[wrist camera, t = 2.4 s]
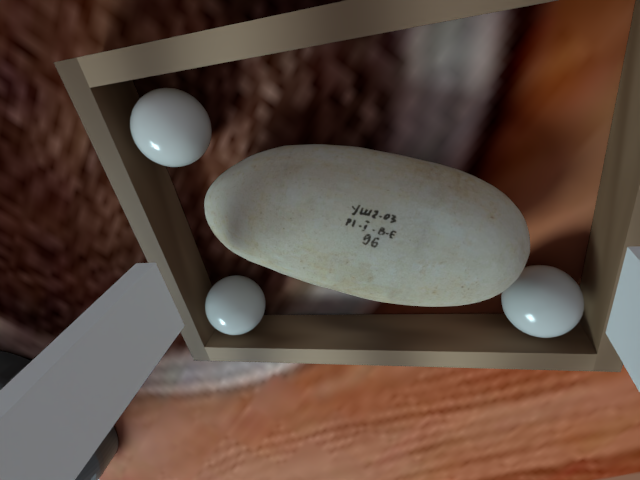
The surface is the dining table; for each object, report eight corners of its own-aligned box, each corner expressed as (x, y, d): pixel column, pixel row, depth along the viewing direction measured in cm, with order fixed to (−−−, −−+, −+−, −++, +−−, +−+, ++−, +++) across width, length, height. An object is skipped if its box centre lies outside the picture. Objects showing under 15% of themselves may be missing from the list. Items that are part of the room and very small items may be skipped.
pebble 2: (493, 305, 18) (507, 352, 16) (496, 253, 17) (512, 296, 14) (563, 304, 18) (590, 354, 15) (573, 249, 16) (604, 294, 14)
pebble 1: (172, 156, 18) (133, 181, 15) (146, 87, 16) (98, 102, 14) (231, 149, 17) (201, 174, 14) (210, 76, 15) (172, 90, 13)
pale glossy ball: (228, 308, 22) (206, 347, 19) (212, 264, 20) (185, 301, 18) (278, 307, 21) (261, 348, 19) (265, 262, 20) (244, 300, 17)
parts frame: (213, 327, 23) (194, 360, 21) (100, 54, 16) (54, 62, 14) (595, 329, 18) (620, 372, 16) (689, -70, 11) (758, -89, 9)
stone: (181, 133, 14) (561, 157, 9) (277, 142, 20) (545, 161, 14) (182, 282, 15) (513, 380, 10) (272, 251, 21) (516, 305, 16)
